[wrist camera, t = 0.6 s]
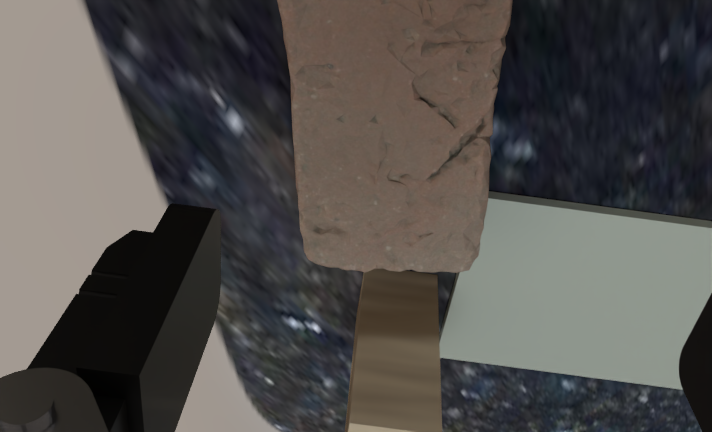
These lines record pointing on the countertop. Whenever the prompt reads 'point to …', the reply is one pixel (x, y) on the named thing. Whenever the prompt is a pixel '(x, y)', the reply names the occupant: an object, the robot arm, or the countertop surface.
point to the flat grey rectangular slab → (580, 290)
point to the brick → (393, 128)
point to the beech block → (396, 355)
